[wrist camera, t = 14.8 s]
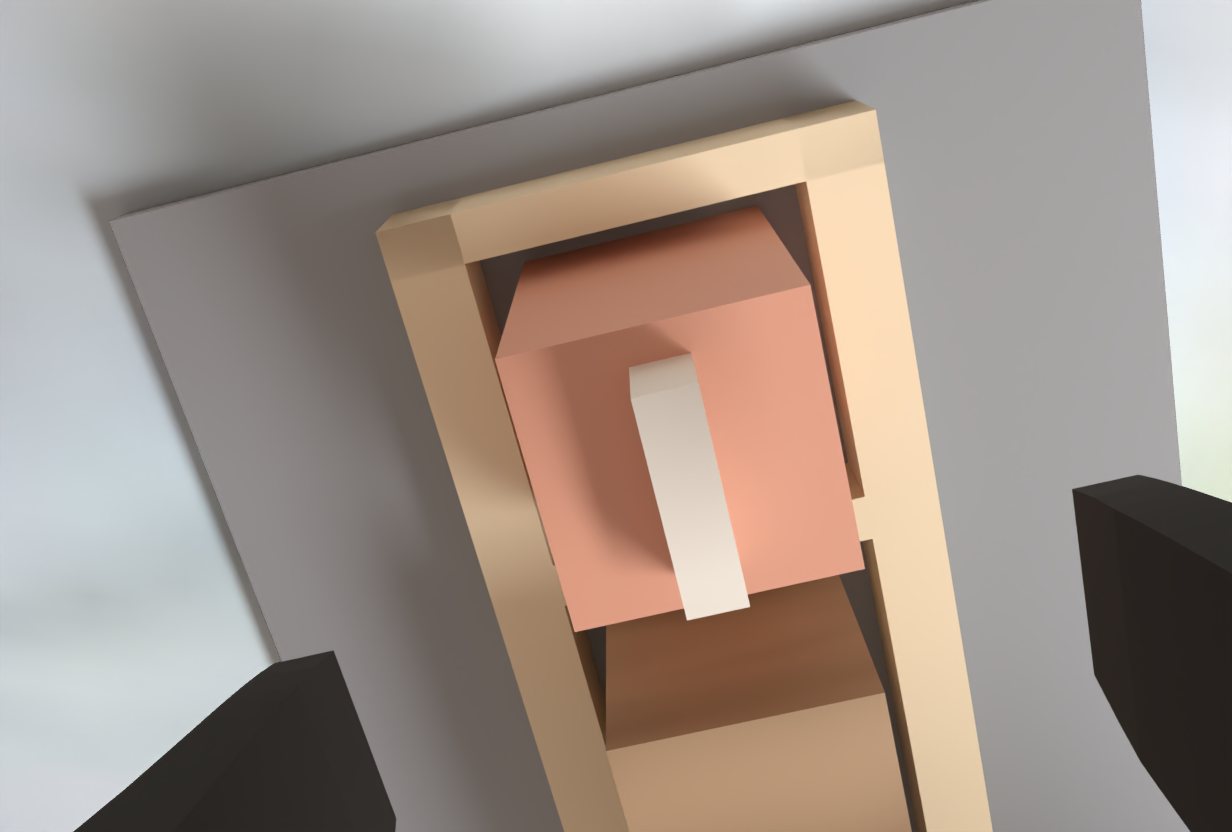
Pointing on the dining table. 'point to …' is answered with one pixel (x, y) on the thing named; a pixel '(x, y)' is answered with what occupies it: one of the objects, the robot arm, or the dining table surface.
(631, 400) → the pink block
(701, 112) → the jig
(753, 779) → the brown cardboard box
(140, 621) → the dining table surface
